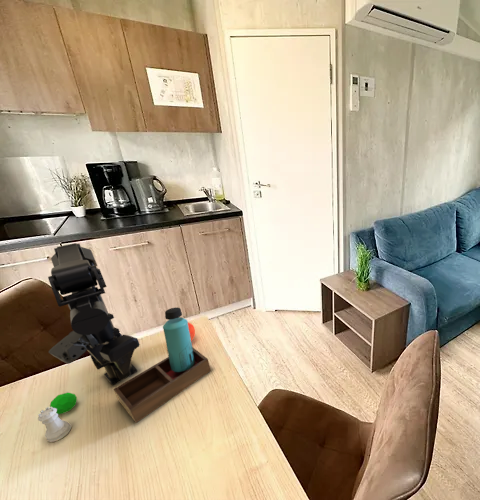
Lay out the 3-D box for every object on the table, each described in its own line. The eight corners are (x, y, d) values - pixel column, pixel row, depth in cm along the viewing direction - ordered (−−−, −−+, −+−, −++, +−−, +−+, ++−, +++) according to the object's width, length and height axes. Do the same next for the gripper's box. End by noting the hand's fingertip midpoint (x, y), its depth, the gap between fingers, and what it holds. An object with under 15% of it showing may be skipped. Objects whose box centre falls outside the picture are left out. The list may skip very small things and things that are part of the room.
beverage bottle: (195, 373, 84) (184, 311, 80) (169, 379, 82) (157, 316, 77) (197, 361, 90) (187, 303, 86) (172, 366, 88) (161, 307, 83)
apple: (179, 334, 102) (174, 316, 99) (201, 334, 102) (196, 316, 99) (165, 350, 95) (159, 331, 92) (189, 350, 95) (183, 331, 92)
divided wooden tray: (119, 401, 78) (113, 389, 76) (192, 356, 93) (189, 344, 91) (136, 423, 72) (130, 410, 70) (211, 370, 87) (207, 358, 85)
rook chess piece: (76, 428, 71) (63, 406, 68) (54, 445, 67) (39, 423, 64) (64, 422, 72) (51, 400, 69) (42, 439, 68) (27, 417, 65)
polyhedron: (54, 408, 76) (46, 396, 74) (79, 397, 79) (72, 385, 77) (54, 421, 72) (46, 409, 70) (79, 409, 75) (72, 397, 73)
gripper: (25, 326, 63) (54, 381, 68) (69, 346, 55) (98, 405, 61) (85, 302, 72) (107, 351, 78) (130, 315, 65) (150, 369, 70)
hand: (114, 368), depth 71 cm, fingers open, 9 cm apart
